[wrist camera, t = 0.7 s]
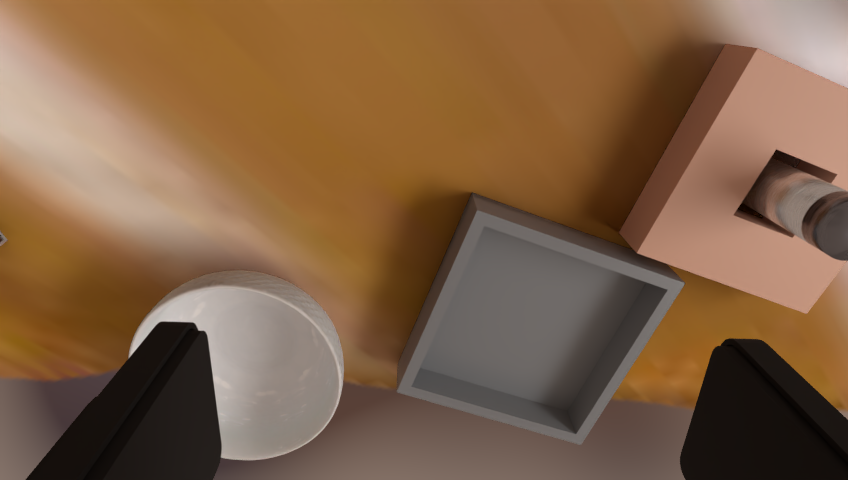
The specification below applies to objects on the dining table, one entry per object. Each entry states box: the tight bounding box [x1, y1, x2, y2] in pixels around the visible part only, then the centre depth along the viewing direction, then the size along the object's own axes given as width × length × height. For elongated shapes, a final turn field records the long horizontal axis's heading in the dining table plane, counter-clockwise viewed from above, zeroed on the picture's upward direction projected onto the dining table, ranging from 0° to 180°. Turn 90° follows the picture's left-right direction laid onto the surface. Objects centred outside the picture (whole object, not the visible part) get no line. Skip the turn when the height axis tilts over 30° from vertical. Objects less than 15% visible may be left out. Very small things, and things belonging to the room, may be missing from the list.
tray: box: [397, 193, 685, 445], centre depth 47 cm, size 18×18×4 cm
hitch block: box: [619, 44, 848, 314], centre depth 42 cm, size 16×16×4 cm
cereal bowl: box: [128, 270, 344, 460], centre depth 45 cm, size 17×17×7 cm
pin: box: [742, 158, 848, 261], centre depth 39 cm, size 4×4×11 cm
